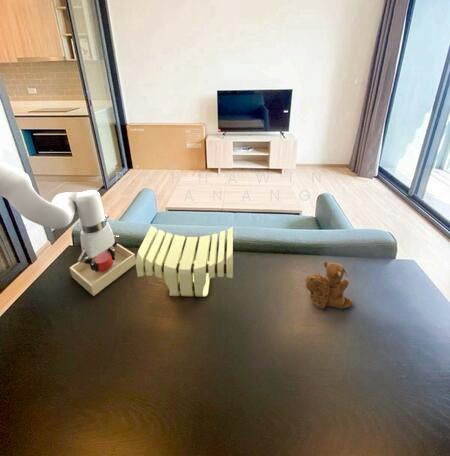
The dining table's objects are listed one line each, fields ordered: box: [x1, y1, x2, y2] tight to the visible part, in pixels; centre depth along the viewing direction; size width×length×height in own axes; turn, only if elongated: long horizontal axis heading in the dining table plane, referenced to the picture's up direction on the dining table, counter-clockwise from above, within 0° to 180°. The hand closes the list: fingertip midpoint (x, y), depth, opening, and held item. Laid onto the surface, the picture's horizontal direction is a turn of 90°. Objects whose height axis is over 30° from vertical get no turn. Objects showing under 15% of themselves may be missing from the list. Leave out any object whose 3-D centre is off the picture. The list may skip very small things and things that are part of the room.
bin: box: [69, 242, 136, 297], centre depth 92 cm, size 14×17×5 cm
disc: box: [95, 252, 113, 272], centre depth 92 cm, size 6×6×4 cm
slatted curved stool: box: [135, 225, 234, 297], centre depth 84 cm, size 30×16×18 cm, turn 88°
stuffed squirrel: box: [304, 260, 353, 310], centre depth 78 cm, size 10×14×13 cm
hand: (103, 263), depth 92 cm, fingers closed on disc, 6 cm apart
